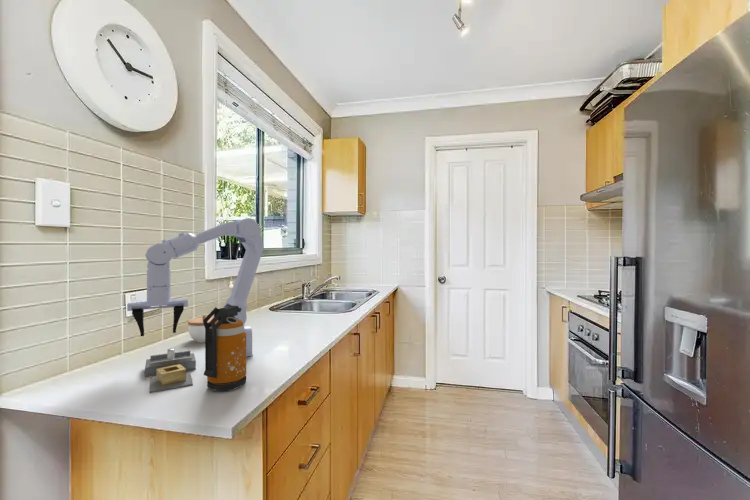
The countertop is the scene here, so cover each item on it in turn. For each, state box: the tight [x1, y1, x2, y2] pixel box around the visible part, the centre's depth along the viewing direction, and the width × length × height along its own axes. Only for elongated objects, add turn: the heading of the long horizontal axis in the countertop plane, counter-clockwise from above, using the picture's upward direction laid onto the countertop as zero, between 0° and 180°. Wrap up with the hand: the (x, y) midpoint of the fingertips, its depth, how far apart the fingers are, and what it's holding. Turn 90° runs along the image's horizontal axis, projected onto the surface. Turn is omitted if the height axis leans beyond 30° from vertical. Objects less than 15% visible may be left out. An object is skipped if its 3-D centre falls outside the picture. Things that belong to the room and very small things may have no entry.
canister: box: [203, 306, 247, 392], centre depth 85 cm, size 9×11×20 cm
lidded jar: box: [187, 314, 218, 344], centre depth 129 cm, size 11×11×9 cm
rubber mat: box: [149, 372, 194, 394], centre depth 88 cm, size 9×9×1 cm
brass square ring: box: [155, 364, 187, 387], centre depth 88 cm, size 5×5×3 cm
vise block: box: [144, 348, 197, 378], centre depth 98 cm, size 12×8×6 cm, turn 121°
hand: (158, 333), depth 98 cm, fingers open, 7 cm apart
